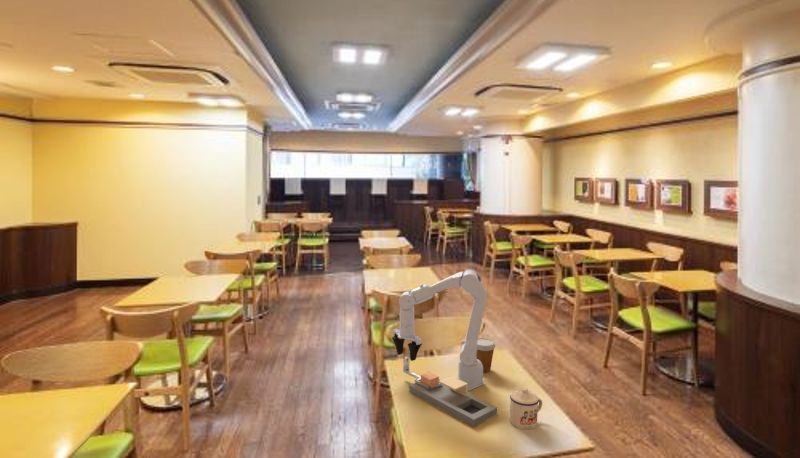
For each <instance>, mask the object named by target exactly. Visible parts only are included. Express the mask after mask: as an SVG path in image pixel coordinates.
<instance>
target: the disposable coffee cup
mask: <svg viewBox="0 0 800 458" xmlns="http://www.w3.org/2000/svg"><path fill="white" fill-rule="evenodd" d="M495 347H496V344H495V341H494V340H492V339H491V338H486V337H478V341H477V355H476V356H477V359H478V360H480V361H481V363H482V365H483V374H486V373H490V372H491V369H492V368H491V367H492V364H493V363H492V362H493V358H494V351H495V350H494V349H495Z"/></svg>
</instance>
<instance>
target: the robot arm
mask: <svg viewBox="0 0 800 458" xmlns="http://www.w3.org/2000/svg"><path fill="white" fill-rule="evenodd" d="M452 287H454V288H456V289H461V288H462V289H463V290H464V291H465V292H467V293H469V294H470V295H471V297H472V299H474V300H473V303H472V307H471V312H470V317H469V321H468V326H467V330H466V335H465V338H464V342H463V343H462V344H461V345H460V354H459V359H458V373H457V375H458V377H457V379H459V380H461V381H463V382H466V383H468V391H471V390H473V389H476V388H478V387H480V386H483V385H485V382H484V380H483V379H484V373H483V365H482V363H481V361H480V360H478V359H477V356H476V355H477V341H478V338H480V337H479V335H480V332H481V327H482V322H483V319H484V315H485V314H484V313H485V309H486V306H487V305H486V304H487V300H488V293H487V290H486V287H485V285H484V283H483V280H482V277H481V275H479V273H478V272H477V271H476V270H474V269H472V268H467V269H466V270H464V271H462V270H461V271H459V272H457V273H454V274H452V275H450V276H448V277H446V278H443V279H441V280H439V281H438V282H435V283H434V284H428V283H426V284H423V283H421V284H419V286H418V287H416V288H414V289H409V290H408V291H404V292H402V294H401V295H400V297H399V299H398V305H399V329H398V328H395V329H392V335H393V336H392V337H391V340H392V341H393V343H394V347H395V349H396V353H397V355H403V353H404V343H405V340H408V341H410V342H409V343H407V346H408V349H409V358H410V359H409V361H411V362H413V361H416V359H417V356H418V352H419V350H420V348H421V347H422V345H423V342H422V338H420V337H419V336H418V335H417V334H415V305H418V304H421V303H423V302H425V301H426V302H427V300H431V299H432V298H433V297H434V294H437V293H440V292H442V291H445V290H447V289H449V288H450V289H451V288H452Z"/></svg>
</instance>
